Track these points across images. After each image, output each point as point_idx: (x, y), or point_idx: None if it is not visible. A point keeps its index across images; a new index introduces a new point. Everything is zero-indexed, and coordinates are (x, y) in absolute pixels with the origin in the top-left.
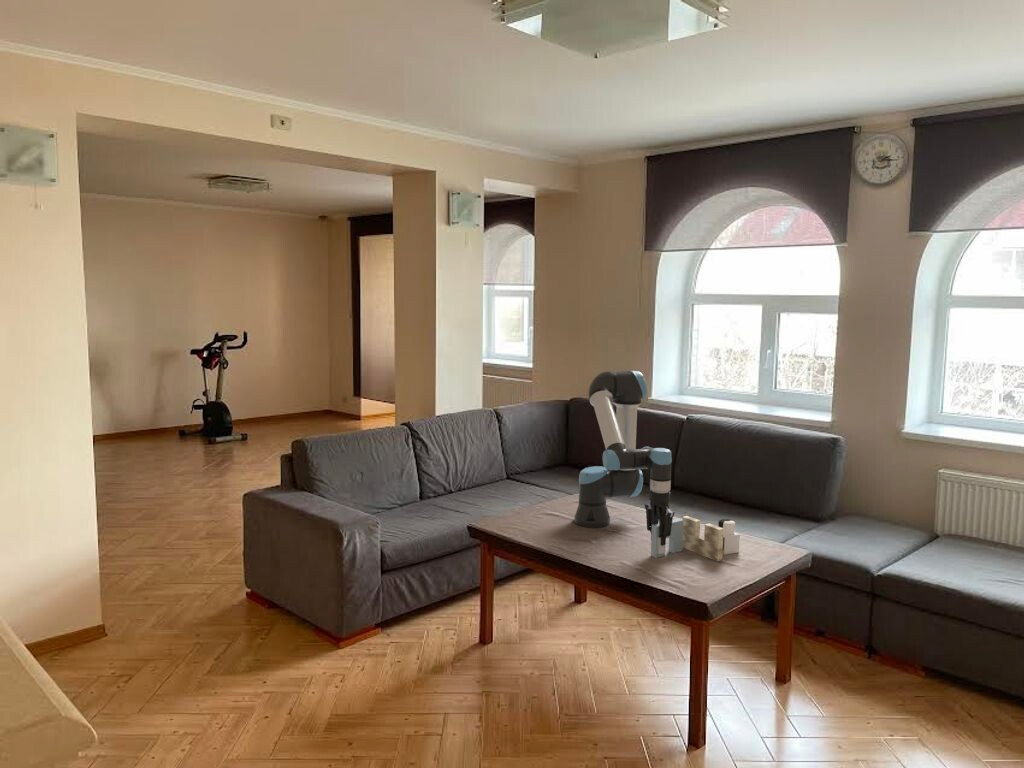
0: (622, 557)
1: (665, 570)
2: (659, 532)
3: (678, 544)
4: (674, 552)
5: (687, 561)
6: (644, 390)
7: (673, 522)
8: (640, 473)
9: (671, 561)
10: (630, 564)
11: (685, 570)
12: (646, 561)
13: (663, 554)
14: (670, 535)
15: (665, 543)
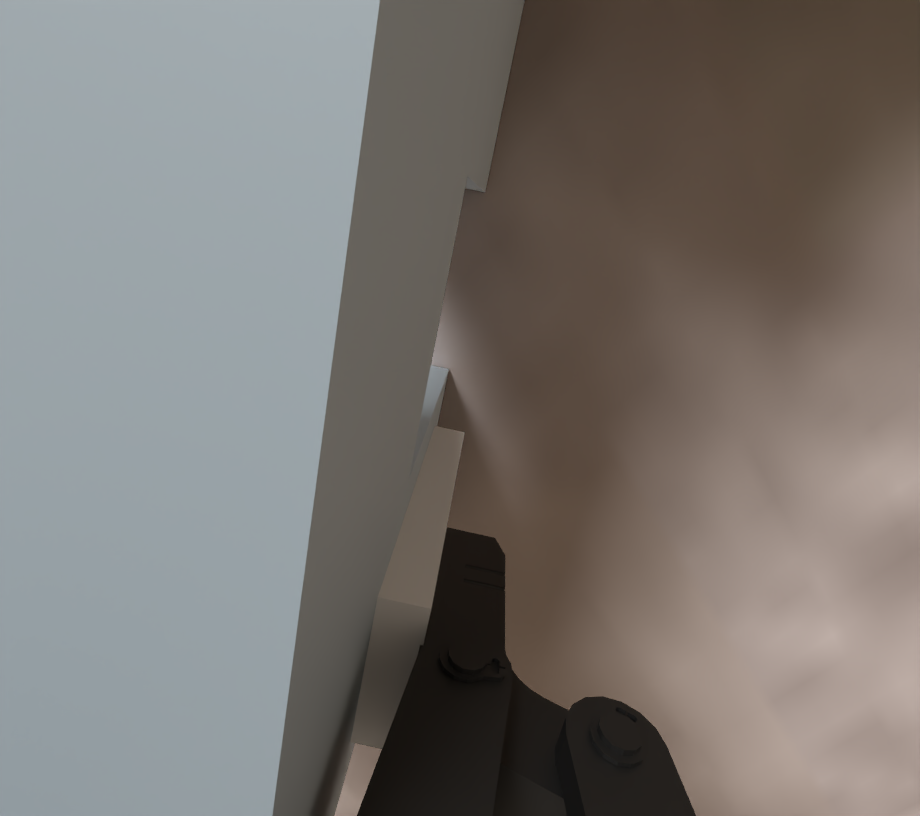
0: None
1: (712, 745)
2: (325, 812)
3: (511, 27)
4: (490, 162)
5: (821, 344)
6: None
7: (339, 199)
8: None
9: (634, 491)
10: (353, 810)
11: (915, 623)
12: None
13: (441, 400)
14: (434, 325)
15: (502, 565)
